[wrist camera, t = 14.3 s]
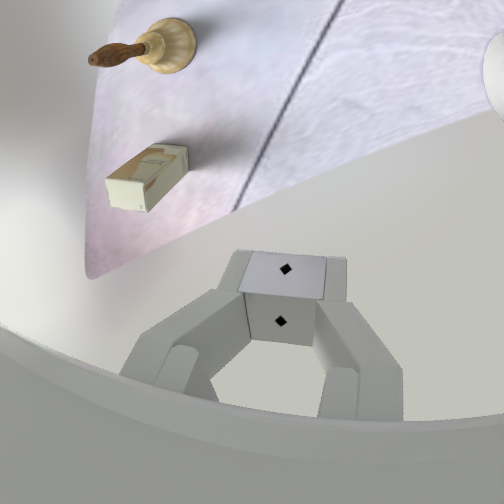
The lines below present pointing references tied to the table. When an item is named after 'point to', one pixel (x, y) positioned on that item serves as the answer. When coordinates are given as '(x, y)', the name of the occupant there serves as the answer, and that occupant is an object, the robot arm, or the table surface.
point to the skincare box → (147, 177)
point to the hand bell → (153, 48)
